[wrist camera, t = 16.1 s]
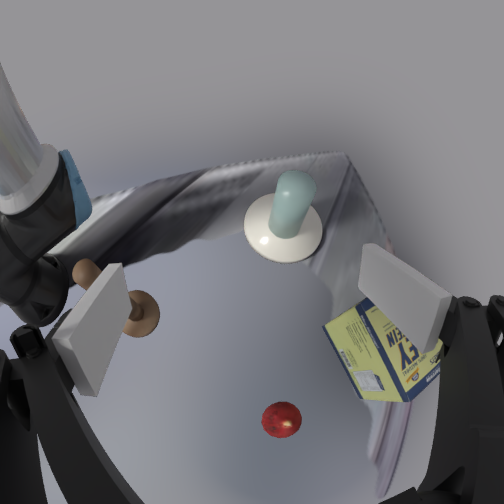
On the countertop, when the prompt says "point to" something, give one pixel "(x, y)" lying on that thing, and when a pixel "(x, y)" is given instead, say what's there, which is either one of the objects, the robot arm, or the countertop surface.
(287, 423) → the red fruit
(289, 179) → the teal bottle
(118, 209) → the countertop surface
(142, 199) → the countertop surface
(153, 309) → the walnut post
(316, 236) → the cream plate
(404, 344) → the protein box
